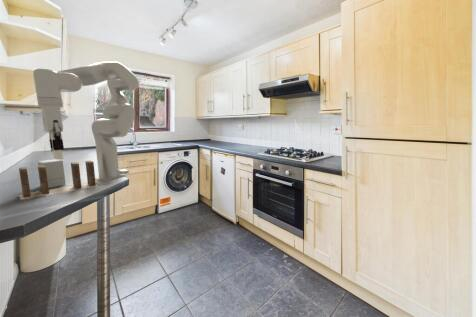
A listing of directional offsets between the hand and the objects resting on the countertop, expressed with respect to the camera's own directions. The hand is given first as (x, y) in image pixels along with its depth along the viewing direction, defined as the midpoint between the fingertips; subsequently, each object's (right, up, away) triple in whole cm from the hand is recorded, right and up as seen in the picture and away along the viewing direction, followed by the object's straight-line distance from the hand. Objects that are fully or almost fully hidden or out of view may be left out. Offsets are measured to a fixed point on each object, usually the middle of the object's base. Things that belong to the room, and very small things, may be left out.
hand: (57, 148), depth 90 cm
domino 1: (-6, -18, +1) cm, 19 cm away
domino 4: (+5, -16, +13) cm, 22 cm away
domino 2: (0, -4, +1) cm, 4 cm away
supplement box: (-12, -18, +13) cm, 25 cm away
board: (-2, -18, +5) cm, 19 cm away
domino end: (-10, -19, -3) cm, 21 cm away
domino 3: (+2, -17, +9) cm, 19 cm away
